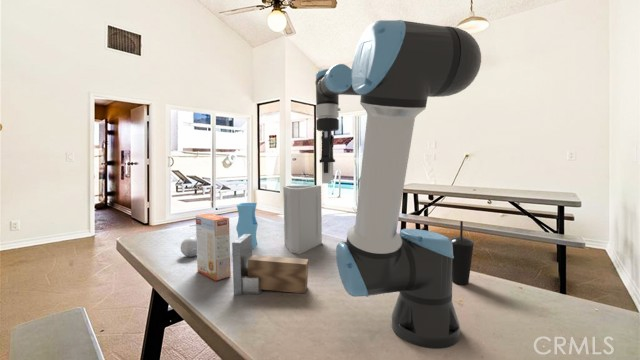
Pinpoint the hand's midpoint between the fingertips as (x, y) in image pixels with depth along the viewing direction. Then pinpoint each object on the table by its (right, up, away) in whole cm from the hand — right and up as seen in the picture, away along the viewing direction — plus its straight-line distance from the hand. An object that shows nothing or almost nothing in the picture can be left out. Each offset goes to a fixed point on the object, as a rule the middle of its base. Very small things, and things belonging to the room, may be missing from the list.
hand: (328, 181), depth 99 cm
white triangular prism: (-13, -31, +38) cm, 50 cm away
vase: (-37, -31, +38) cm, 62 cm away
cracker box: (-41, -33, +5) cm, 53 cm away
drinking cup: (+43, -33, -4) cm, 54 cm away
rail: (-16, -33, -8) cm, 38 cm away
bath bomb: (-58, -32, +25) cm, 70 cm away
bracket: (-25, -34, -7) cm, 42 cm away
